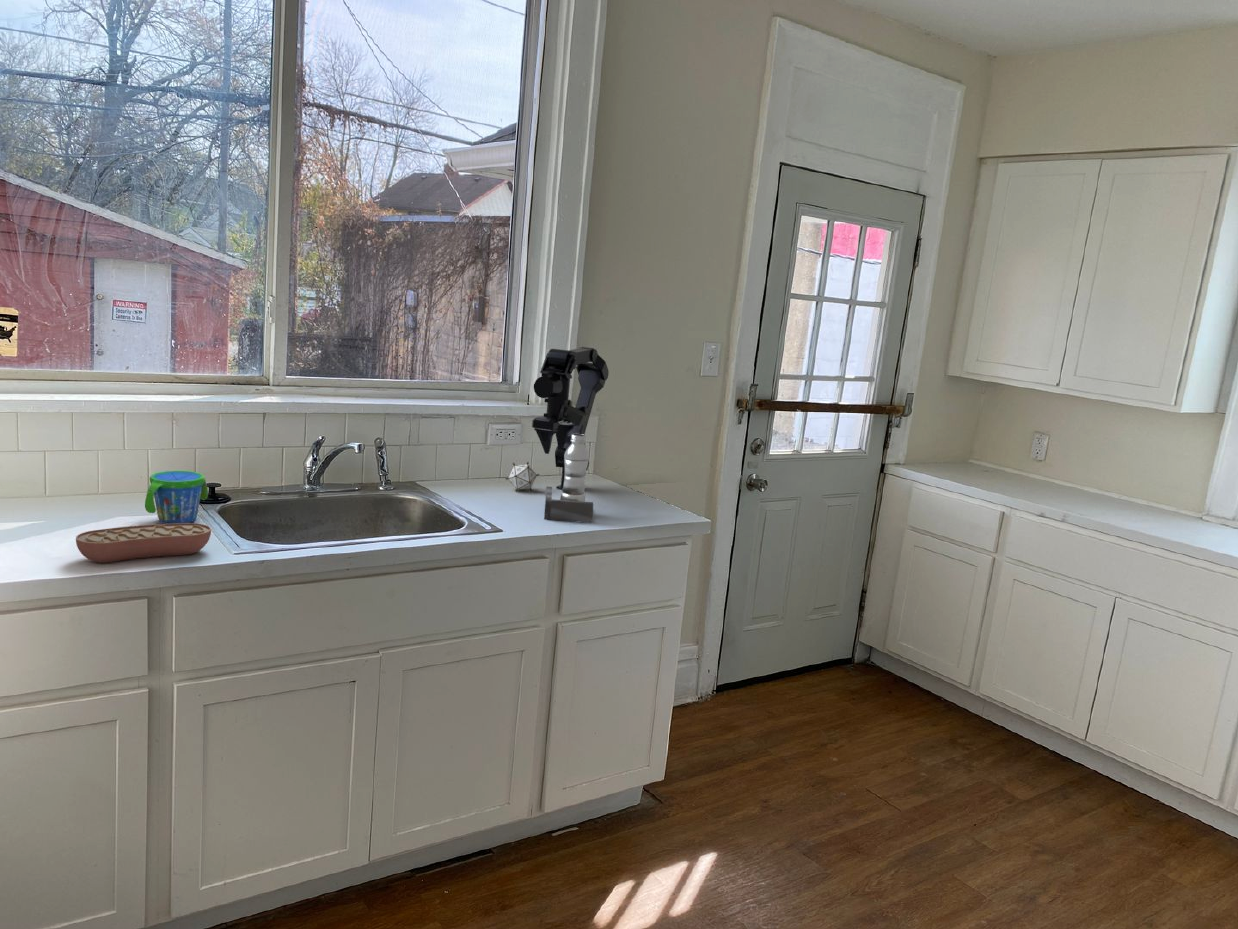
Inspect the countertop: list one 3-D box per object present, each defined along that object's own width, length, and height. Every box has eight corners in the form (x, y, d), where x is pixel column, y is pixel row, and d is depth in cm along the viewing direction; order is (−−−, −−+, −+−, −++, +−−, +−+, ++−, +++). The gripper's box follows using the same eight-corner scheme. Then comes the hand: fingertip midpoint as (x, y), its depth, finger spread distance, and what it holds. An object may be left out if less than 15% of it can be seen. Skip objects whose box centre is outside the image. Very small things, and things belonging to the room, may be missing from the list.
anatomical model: (80, 571, 160) (80, 544, 159) (72, 556, 168) (71, 530, 167) (216, 557, 175) (216, 533, 174) (202, 544, 182) (203, 520, 181)
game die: (514, 503, 255) (494, 474, 252) (527, 488, 262) (508, 460, 259) (536, 493, 250) (516, 464, 247) (549, 478, 257) (530, 450, 254)
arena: (545, 504, 241) (546, 486, 240) (589, 507, 242) (591, 489, 241) (544, 519, 225) (545, 500, 224) (591, 522, 226) (593, 503, 225)
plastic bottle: (553, 509, 232) (560, 433, 228) (571, 506, 237) (577, 431, 233) (572, 515, 228) (578, 438, 224) (589, 511, 233) (596, 436, 230)
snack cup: (163, 532, 186) (163, 485, 185) (128, 523, 190) (127, 476, 189) (224, 518, 201) (224, 474, 199) (189, 510, 205) (190, 466, 203)
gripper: (571, 401, 234) (567, 460, 236) (598, 396, 251) (593, 451, 254) (533, 396, 237) (529, 454, 240) (561, 391, 254) (557, 445, 257)
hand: (553, 451), depth 248 cm, fingers open, 9 cm apart
